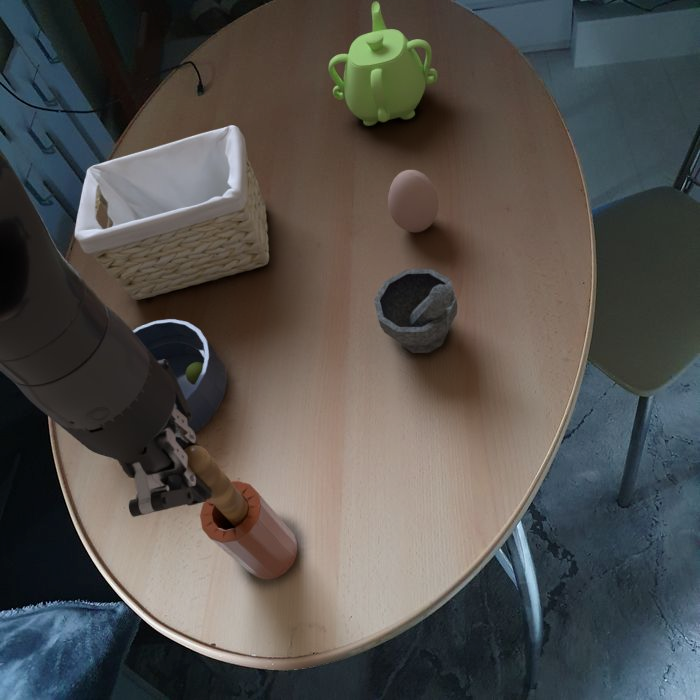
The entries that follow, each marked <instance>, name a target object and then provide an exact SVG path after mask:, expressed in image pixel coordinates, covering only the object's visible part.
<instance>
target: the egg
mask: <svg viewBox="0 0 700 700" xmlns="http://www.w3.org/2000/svg"><path fill="white" fill-rule="evenodd" d="M387 204H388V210H389V213H390V216H391V218H392V220H393V222H394V223H395V224H396V225H397V226H398V227H399V228H401V229H402V230H404V231H406V232H410V233H420V232H423V231H425V230H427V229H428V228H429V227H431V226H432V224H433V223H434V222H435V220H436V218H437V215H438V212H439V195H438V192H437V190H436V188H435V186H434V184H433V182H432V180H430V179H429V178H428V177H427V176H426V175H425V174H424V173H423V172H421V171H418V170H416V169H406V170H402V171H401V172H399V173H398V174H397V175H396V176H395V177H394V178H393V180H392V182H391V184H390V187H389V191H388V197H387Z"/></svg>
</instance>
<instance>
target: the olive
mask: <svg viewBox="0 0 700 700" xmlns="http://www.w3.org/2000/svg"><path fill="white" fill-rule="evenodd" d="M202 368H203V363H201V362H195V363H192V364H191V365H189V366H188V368H187V370H186V378H187V380H188V381H189V382H190V383H191V384H193V385H195V383H196V381H197V379H198V378H199V376H200V374H201V372H202Z"/></svg>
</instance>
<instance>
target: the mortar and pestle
mask: <svg viewBox="0 0 700 700" xmlns="http://www.w3.org/2000/svg"><path fill="white" fill-rule="evenodd" d="M373 301H374V307H375V311H376V316H377V320H378V324H379V326H380V328H381V330H382V331H383V332H384V333H385V334H386V335H387V336H389V337H391V338H392V339H393V340H395V341H397V342H398V343H400V345H401V347H403V348H405V349H406V350H408V351H409V352H410V353H413V354H429V353H431V352H432V351H434V350H436V349H438V348H439V347H442V346H443V344H444V341H445V339H446V338H447V335H448V332H449V330H450V328H451V326H452V325H453V322H454V320H455V319H456V316H457V314H458V301H457V296H456V293H455V290H454V287H453V284H452V281H451V279H450V278H448V277H446V276H444V275H442V274H440V273H439V272H437V271H435V270H434V269H432V268H417V269H415V268H414V269H413V268H412V269H405V270H403V271H401V272H399V273H398V274H396V275H393V276H392V277H390V278H388V279H386V280H385V281H383V284H382V285H381V287H380V289H379V291H378V293H377V294H376V296H375V298H374V300H373Z"/></svg>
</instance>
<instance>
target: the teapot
mask: <svg viewBox="0 0 700 700" xmlns="http://www.w3.org/2000/svg"><path fill="white" fill-rule="evenodd" d="M371 19H372V31H371V32H368V33H364V34H362V35H359V36H357V37H356V39H354V40H353V42H352V43H351V44H350V47H349V51H348V53H340V54H336V55H335V56H333V57H332V58H331V59H330V61H329V63H328V73H329V76H330V78H331V79H332V81H333V82H334V83H335V86H334V87H333V89H332V95H333V97H334V98H335V99H336V100H338V101H344V100H345V102H346V105H347V107H348V109H349V111H350V112H351V113H352V114H353V115H354V116H356V117H357V118H358V119H359V120H362V121H363V125H364V126H367V127H368V126H369V127H370V126H374V125H376V124H377V123H378V122H380V123H385V122H388V121H389V120H390V121H391V120H394V119H398V118H400V119H402V120H410V119H412V118H413V117H415V115H416V111H415V109H416V108H417V106H418V105H419V103H420V102H421V100H422V97H423V95H424V93H425V90H426V85H432V84H434V83H436V82H437V80H438V77H439V74H438V71H437V70H436V69H435V68H430V67H431V63H432V57H433V56H432V55H433V50H432V47H431V45H430V43H428V42H427V41H426V40H424V39H420V38H419V39H411V40H410V41H409V39H408V38H407V37H406V36H405V34H404V33H402V32H401V31H400V30H398V29H396V28H395V29H394V28H387V26H386V24H385V23H386V22H385V21H384V17H383V14H382V10H381V5H380V3H379V2H378V1H376V0H375V1H373V2H372V4H371ZM417 48H418V49H424V50H425V59H424V64H423V63H422V61H421V58H420V56H419V55H418V53H417V51H416V50H415V49H417ZM339 63H345V66H344V72H343V80H342V79H341V77H340V76H339V74H338V72H337V71H336V68H335V66H336V65H337V64H339ZM429 75H430V76H429ZM339 91H340V92H339Z"/></svg>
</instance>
